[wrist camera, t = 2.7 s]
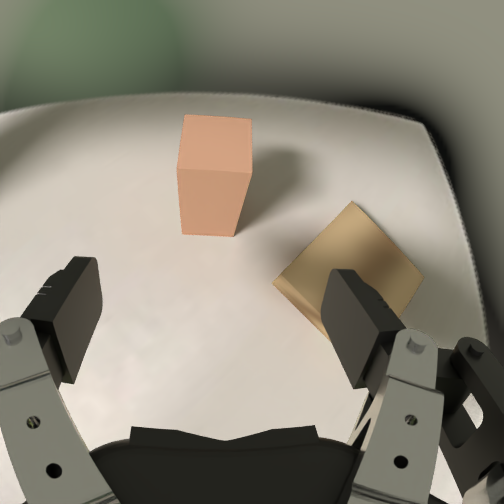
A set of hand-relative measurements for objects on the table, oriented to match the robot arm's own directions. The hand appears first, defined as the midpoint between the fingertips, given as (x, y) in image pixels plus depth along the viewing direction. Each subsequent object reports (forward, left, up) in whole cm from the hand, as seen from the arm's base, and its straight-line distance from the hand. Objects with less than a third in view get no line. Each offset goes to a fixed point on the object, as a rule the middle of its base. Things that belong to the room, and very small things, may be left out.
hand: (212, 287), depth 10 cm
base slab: (+6, +10, -13) cm, 18 cm away
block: (-6, +6, -13) cm, 16 cm away
